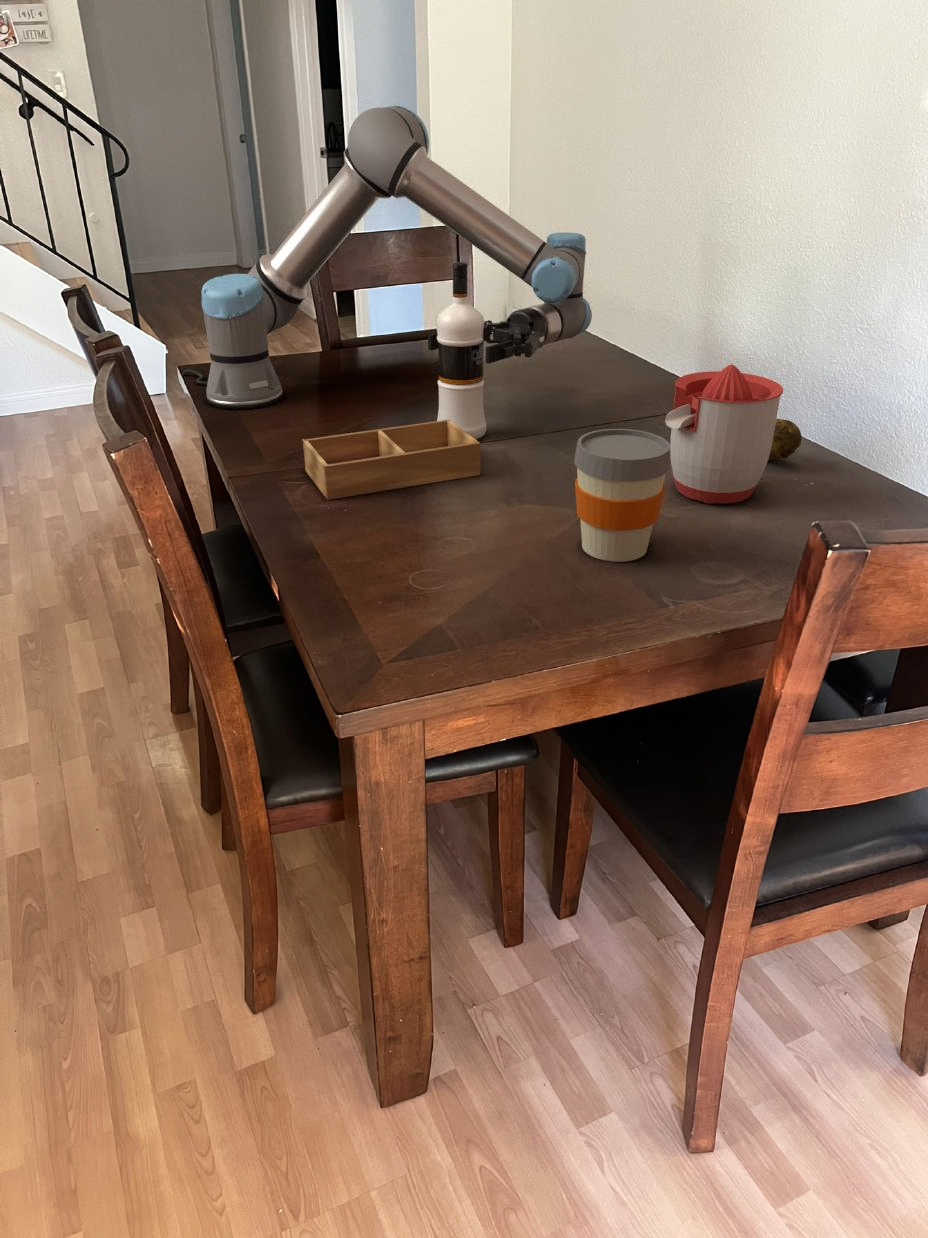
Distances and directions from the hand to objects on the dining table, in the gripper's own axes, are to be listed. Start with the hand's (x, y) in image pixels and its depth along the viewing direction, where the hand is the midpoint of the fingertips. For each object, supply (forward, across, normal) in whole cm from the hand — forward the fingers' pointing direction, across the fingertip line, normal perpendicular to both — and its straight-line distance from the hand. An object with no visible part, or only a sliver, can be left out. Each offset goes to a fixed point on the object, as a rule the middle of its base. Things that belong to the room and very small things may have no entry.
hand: (457, 348), depth 157 cm
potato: (-25, -48, -16) cm, 56 cm away
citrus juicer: (-6, -48, -16) cm, 51 cm away
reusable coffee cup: (+20, -47, -16) cm, 54 cm away
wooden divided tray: (+21, -4, -16) cm, 27 cm away
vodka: (-1, 0, -16) cm, 16 cm away
